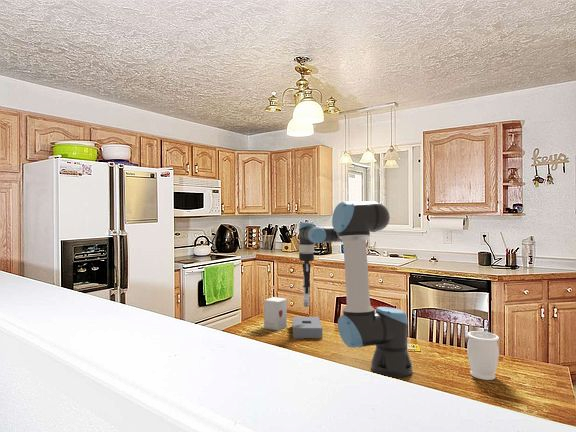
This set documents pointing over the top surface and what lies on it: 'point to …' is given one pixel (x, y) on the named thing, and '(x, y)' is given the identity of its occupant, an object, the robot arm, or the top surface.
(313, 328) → the hole block
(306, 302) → the steel pin
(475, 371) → the jar
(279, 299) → the supplement box
